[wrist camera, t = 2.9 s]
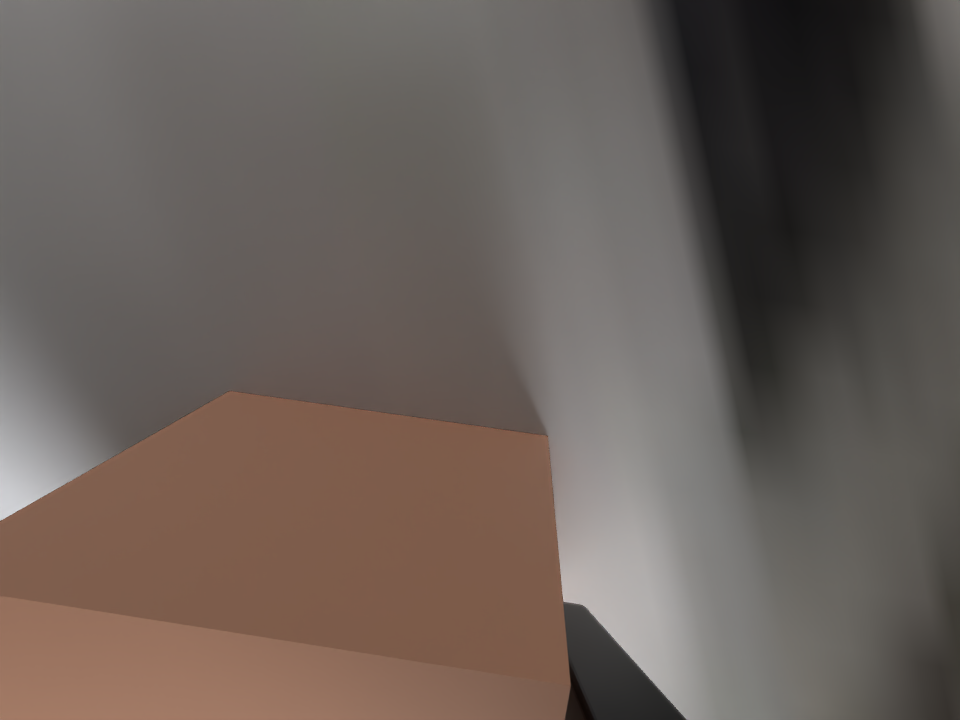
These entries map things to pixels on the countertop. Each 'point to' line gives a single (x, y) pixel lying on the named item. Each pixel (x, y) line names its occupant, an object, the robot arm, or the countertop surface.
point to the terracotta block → (290, 574)
